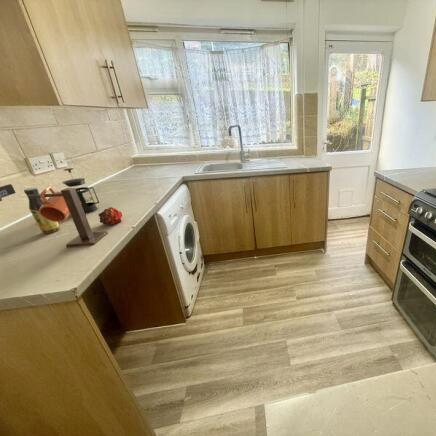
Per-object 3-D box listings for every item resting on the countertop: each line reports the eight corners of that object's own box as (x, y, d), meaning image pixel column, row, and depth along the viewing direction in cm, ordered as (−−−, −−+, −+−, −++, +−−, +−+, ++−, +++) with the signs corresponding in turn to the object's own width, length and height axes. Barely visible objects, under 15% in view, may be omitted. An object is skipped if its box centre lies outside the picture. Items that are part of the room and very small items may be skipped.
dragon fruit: (109, 232, 110) (117, 225, 121) (123, 219, 111) (129, 213, 121) (90, 220, 106) (100, 214, 117) (105, 206, 107) (113, 201, 118)
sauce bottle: (41, 231, 109) (19, 189, 101) (60, 226, 113) (39, 185, 105) (43, 235, 105) (19, 192, 97) (61, 230, 109) (40, 188, 101)
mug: (81, 206, 103) (70, 221, 97) (60, 207, 102) (47, 222, 96) (63, 182, 95) (49, 196, 88) (40, 183, 94) (24, 197, 87)
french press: (75, 216, 124) (55, 172, 115) (73, 212, 130) (53, 169, 121) (102, 209, 132) (85, 167, 122) (99, 205, 138) (83, 165, 128)
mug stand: (41, 249, 94) (13, 195, 85) (60, 237, 103) (37, 187, 94) (94, 245, 96) (72, 192, 87) (108, 234, 105) (90, 184, 96)
